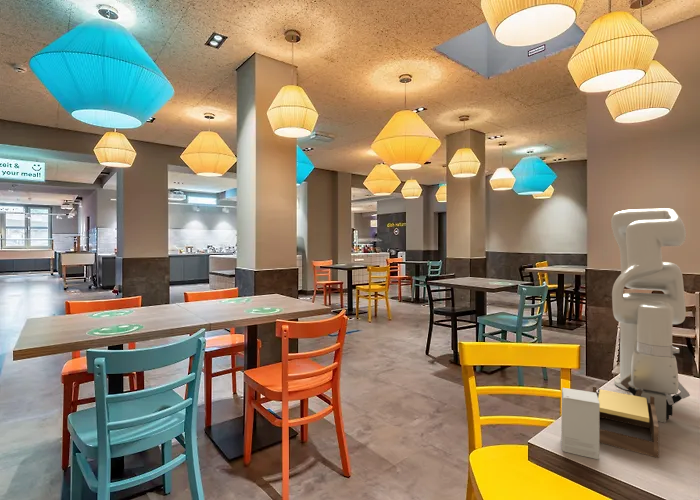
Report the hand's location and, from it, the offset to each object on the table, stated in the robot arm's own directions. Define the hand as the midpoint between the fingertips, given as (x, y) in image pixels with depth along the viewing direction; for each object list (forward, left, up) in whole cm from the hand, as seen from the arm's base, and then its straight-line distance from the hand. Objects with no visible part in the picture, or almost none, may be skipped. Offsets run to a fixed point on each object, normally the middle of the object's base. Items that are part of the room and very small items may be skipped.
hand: (653, 413), depth 103 cm
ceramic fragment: (-10, -3, -2) cm, 11 cm away
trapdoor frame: (+17, -7, -1) cm, 18 cm away
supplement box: (+31, -15, -1) cm, 34 cm away
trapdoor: (+16, -7, +6) cm, 19 cm away
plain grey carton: (0, 0, -1) cm, 1 cm away
